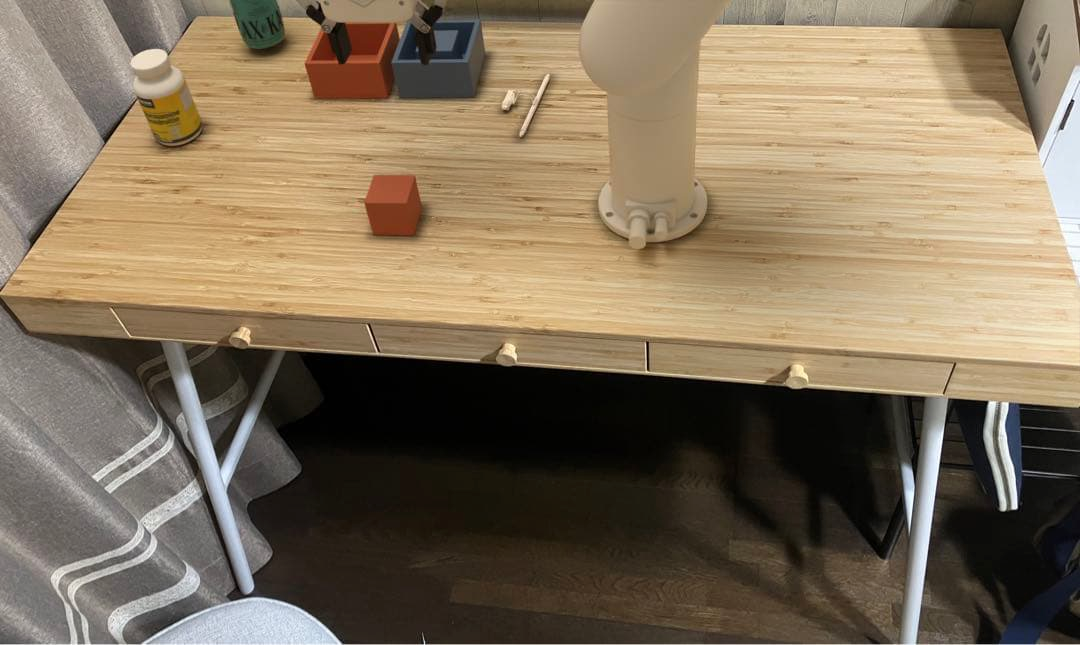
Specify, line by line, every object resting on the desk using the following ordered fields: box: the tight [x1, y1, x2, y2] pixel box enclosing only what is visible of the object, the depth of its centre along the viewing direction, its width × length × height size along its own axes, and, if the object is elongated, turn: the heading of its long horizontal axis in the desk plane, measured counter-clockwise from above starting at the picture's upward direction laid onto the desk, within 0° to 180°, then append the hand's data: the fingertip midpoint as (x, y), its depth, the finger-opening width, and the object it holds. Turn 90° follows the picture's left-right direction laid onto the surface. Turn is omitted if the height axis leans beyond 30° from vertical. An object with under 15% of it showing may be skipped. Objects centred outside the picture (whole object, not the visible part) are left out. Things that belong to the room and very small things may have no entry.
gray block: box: [416, 30, 463, 60], centre depth 138 cm, size 5×5×5 cm
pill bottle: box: [130, 48, 203, 147], centre depth 132 cm, size 6×6×12 cm
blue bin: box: [391, 18, 486, 99], centre depth 138 cm, size 10×10×6 cm
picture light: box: [501, 73, 551, 138], centre depth 133 cm, size 14×4×2 cm, turn 165°
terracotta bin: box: [304, 23, 401, 99], centre depth 140 cm, size 10×10×6 cm
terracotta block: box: [364, 174, 423, 236], centre depth 118 cm, size 5×5×5 cm
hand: (386, 57), depth 114 cm, fingers open, 9 cm apart
